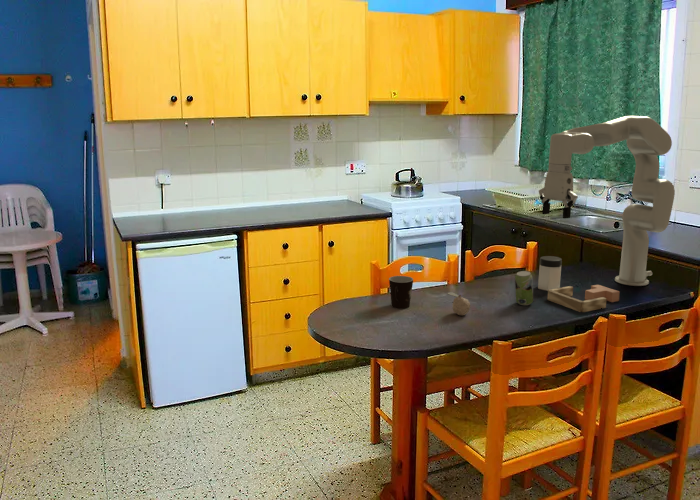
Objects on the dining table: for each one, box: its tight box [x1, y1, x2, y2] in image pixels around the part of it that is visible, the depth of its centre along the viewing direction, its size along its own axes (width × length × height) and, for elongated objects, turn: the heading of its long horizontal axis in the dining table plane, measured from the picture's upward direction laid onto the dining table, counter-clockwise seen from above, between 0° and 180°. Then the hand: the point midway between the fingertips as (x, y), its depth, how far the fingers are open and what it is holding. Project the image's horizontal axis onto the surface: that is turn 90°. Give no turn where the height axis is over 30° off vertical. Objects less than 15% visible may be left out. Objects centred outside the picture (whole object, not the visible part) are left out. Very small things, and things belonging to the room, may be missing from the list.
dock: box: [546, 285, 607, 313], centre depth 232 cm, size 12×17×4 cm
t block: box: [584, 284, 621, 303], centre depth 238 cm, size 10×10×4 cm
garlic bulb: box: [451, 294, 471, 317], centre depth 220 cm, size 7×6×8 cm
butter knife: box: [447, 291, 469, 301], centre depth 236 cm, size 1×24×3 cm
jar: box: [537, 255, 563, 292], centre depth 250 cm, size 9×8×12 cm
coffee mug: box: [388, 275, 414, 310], centre depth 228 cm, size 12×9×10 cm
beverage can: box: [514, 270, 534, 306], centre depth 231 cm, size 6×7×12 cm
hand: (555, 215), depth 233 cm, fingers open, 9 cm apart
